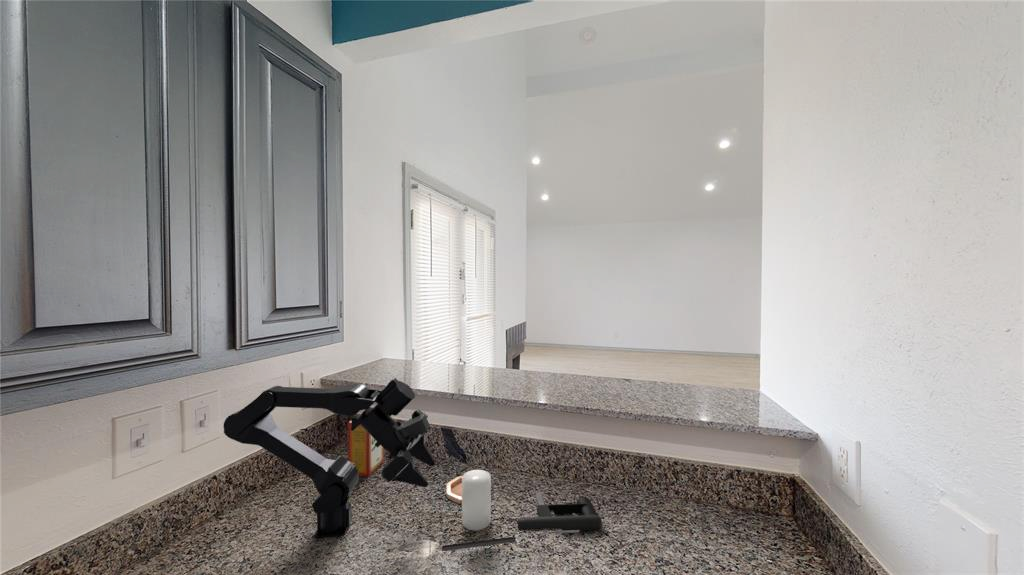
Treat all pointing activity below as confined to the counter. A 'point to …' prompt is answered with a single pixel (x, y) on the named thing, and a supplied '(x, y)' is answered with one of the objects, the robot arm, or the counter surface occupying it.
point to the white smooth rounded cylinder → (476, 499)
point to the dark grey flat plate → (478, 543)
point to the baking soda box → (363, 451)
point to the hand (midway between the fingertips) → (430, 474)
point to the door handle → (563, 517)
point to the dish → (455, 490)
